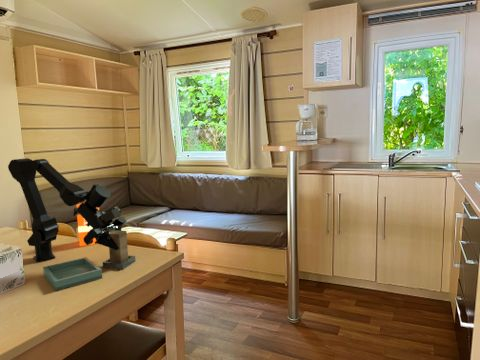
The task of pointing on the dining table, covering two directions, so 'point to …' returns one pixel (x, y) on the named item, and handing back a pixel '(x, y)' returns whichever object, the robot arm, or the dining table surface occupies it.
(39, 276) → the dining table surface
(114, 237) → the plate
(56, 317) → the dining table surface
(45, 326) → the dining table surface
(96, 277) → the tray
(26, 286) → the dining table surface
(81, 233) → the orange juice
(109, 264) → the grey square bin
